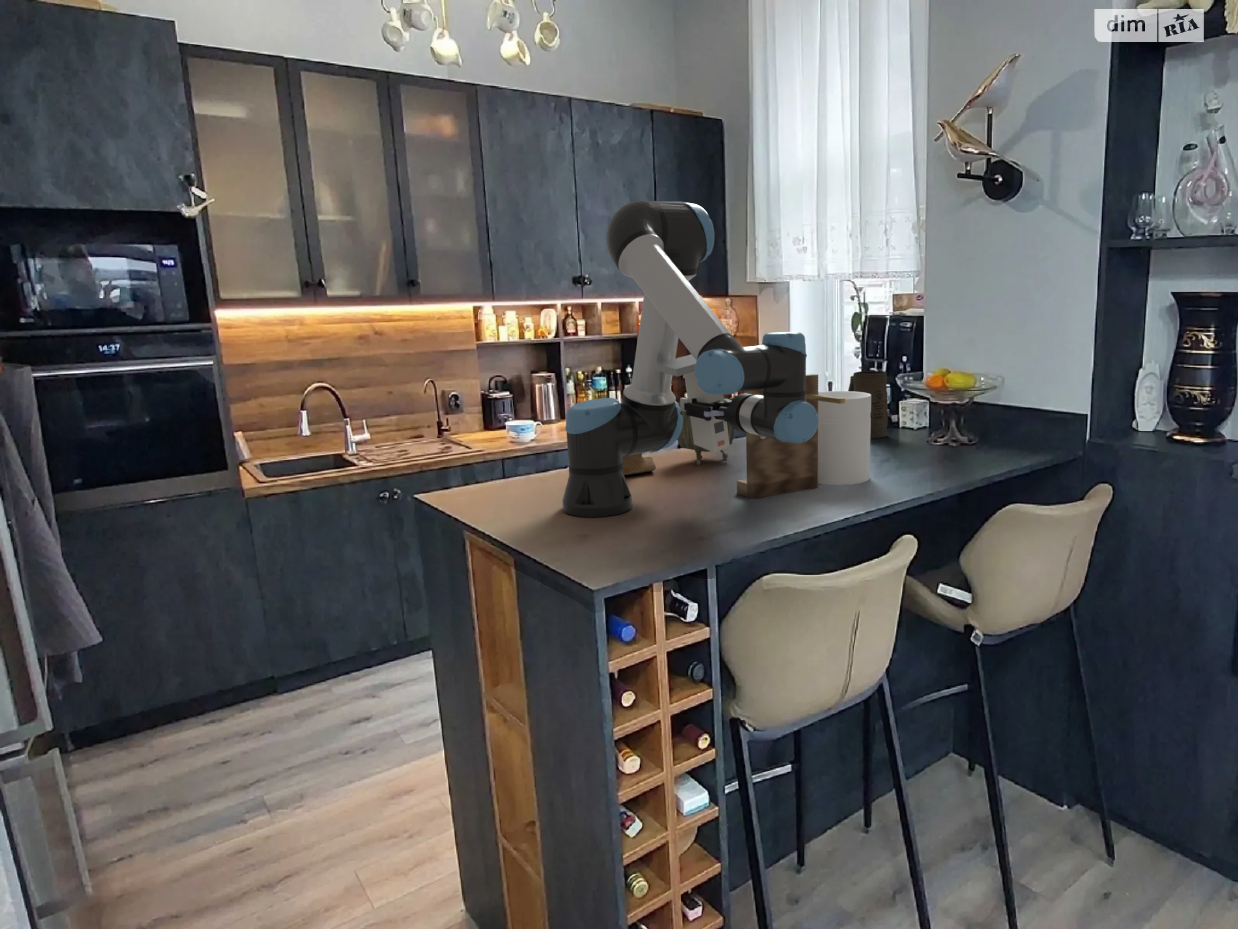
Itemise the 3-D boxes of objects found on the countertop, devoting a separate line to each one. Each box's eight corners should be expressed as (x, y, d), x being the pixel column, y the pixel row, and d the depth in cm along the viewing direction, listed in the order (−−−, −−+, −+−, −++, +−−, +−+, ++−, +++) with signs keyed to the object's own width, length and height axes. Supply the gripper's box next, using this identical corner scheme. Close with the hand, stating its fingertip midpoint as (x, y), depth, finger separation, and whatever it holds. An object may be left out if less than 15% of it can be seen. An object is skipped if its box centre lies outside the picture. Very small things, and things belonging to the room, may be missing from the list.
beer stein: (896, 435, 244) (895, 369, 241) (871, 440, 239) (869, 372, 236) (858, 433, 257) (856, 370, 254) (834, 437, 252) (831, 373, 249)
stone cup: (611, 482, 199) (608, 422, 196) (595, 473, 210) (592, 417, 207) (666, 475, 205) (665, 416, 202) (647, 467, 216) (645, 411, 213)
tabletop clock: (697, 467, 212) (695, 372, 207) (673, 463, 219) (671, 371, 214) (734, 459, 221) (733, 367, 216) (711, 455, 228) (709, 366, 223)
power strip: (689, 460, 165) (676, 369, 159) (670, 452, 172) (656, 363, 166) (753, 439, 171) (743, 350, 165) (732, 431, 178) (721, 345, 172)
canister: (787, 478, 195) (787, 396, 191) (827, 467, 205) (827, 389, 201) (843, 488, 183) (844, 401, 179) (882, 476, 193) (884, 393, 189)
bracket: (784, 510, 166) (784, 385, 161) (737, 493, 183) (735, 379, 177) (853, 498, 174) (855, 378, 169) (801, 482, 190) (801, 372, 185)
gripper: (714, 439, 150) (657, 424, 171) (791, 428, 157) (727, 415, 178) (713, 399, 149) (655, 389, 170) (791, 390, 156) (726, 382, 177)
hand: (692, 402), depth 174 cm, fingers closed on power strip, 5 cm apart
